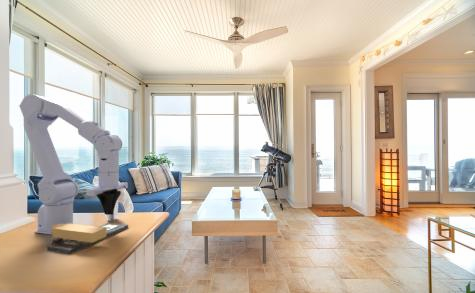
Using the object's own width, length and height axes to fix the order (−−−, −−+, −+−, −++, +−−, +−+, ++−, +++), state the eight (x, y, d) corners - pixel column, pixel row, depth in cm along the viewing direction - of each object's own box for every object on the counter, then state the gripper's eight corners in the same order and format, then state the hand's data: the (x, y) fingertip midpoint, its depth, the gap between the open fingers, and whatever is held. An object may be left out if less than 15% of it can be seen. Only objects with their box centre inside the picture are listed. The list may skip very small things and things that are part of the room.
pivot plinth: (50, 242, 66) (50, 236, 66) (59, 239, 68) (59, 233, 68) (56, 243, 65) (56, 237, 65) (65, 240, 68) (65, 234, 68)
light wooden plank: (46, 236, 65) (46, 227, 65) (61, 230, 69) (61, 222, 69) (92, 242, 60) (92, 233, 60) (106, 236, 65) (106, 227, 65)
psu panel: (47, 250, 61) (47, 245, 61) (108, 225, 80) (108, 221, 80) (70, 253, 59) (70, 248, 59) (128, 227, 78) (128, 223, 78)
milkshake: (115, 221, 84) (115, 194, 84) (102, 221, 85) (102, 193, 86) (123, 218, 89) (123, 192, 89) (111, 217, 90) (111, 191, 90)
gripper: (99, 174, 67) (99, 221, 67) (134, 170, 81) (134, 209, 81) (80, 174, 69) (80, 219, 69) (118, 169, 83) (118, 207, 83)
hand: (108, 214), depth 75 cm, fingers closed
